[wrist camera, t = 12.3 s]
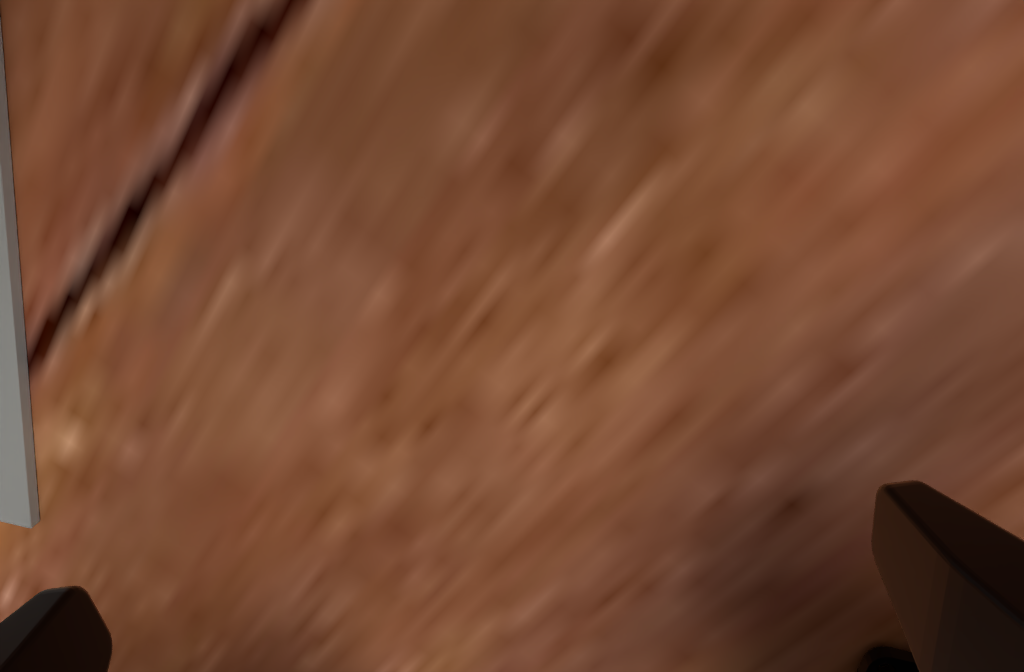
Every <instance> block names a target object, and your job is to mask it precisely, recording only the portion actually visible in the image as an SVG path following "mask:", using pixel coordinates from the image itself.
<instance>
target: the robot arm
mask: <svg viewBox="0 0 1024 672" xmlns="http://www.w3.org/2000/svg"><path fill="white" fill-rule="evenodd" d="M871 542H872V551H873V555H874V559H875V562H876V565H877V567H878V570H879V572H880V575H881V577H882V580H883V582H884V585H885V587H886V590H887V592H888V595H889V597H890V600H891V602H892V605H893V607H894V610H895V612H896V615H897V617H898V620H899V622H900V625H901V627H902V630H903V632H904V635H905V637H906V640H907V642H908V645H909V647H910V650H911V652H908V651H904V650H899V649H895V648H891V647H883V646H881V647H876V648H873V649H871V650H869V651H868V652H867V653H866V655H865V656H864V658H863V660H862V662H861V664H860V666H859V668H858V670H857V672H1024V541H1023V540H1022V539H1020V538H1018V537H1017V536H1015V535H1013V534H1011V533H1010V532H1008V531H1006V530H1004V529H1003V528H1001V527H999V526H998V525H996V524H994V523H992V522H991V521H989V520H987V519H985V518H984V517H982V516H980V515H979V514H977V513H975V512H973V511H972V510H970V509H968V508H966V507H965V506H963V505H961V504H960V503H958V502H956V501H954V500H953V499H951V498H949V497H947V496H946V495H944V494H942V493H941V492H939V491H937V490H935V489H934V488H932V487H930V486H929V485H927V484H925V483H923V482H920V481H914V480H912V481H903V482H895V483H887V484H884V485H882V486H881V487H879V489H878V491H877V494H876V501H875V511H874V520H873V529H872V541H871ZM111 655H112V638H111V634H110V631H109V629H108V628H107V626H106V624H105V622H104V620H103V619H102V617H101V615H100V613H99V611H98V610H97V608H96V606H95V604H94V603H93V601H92V599H91V597H90V595H89V594H88V592H87V591H86V590H85V589H83V588H82V587H80V586H68V587H60V588H52V589H47V590H44V591H42V592H40V593H38V594H37V595H35V596H34V597H33V598H32V599H30V600H29V601H28V602H26V603H25V604H24V605H23V606H21V607H20V608H19V609H18V610H16V611H15V612H14V613H12V614H11V615H10V616H9V617H7V618H6V619H5V620H3V621H2V622H1V623H0V672H108V668H109V664H110V660H111ZM882 664H888V665H886V666H884V667H882V666H880V665H882Z"/></svg>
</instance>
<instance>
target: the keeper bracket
mask: <svg viewBox="0 0 1024 672" xmlns="http://www.w3.org/2000/svg"><path fill="white" fill-rule="evenodd" d="M0 521H1V522H6V523H10V524H14V525H18V526H23V527H27V528H32V527H33V526H35V525H36V524H37V523H38V522H39V521H40V517H39V504H38V491H37V478H36V466H35V453H34V440H33V427H32V415H31V402H30V389H29V376H28V363H27V351H26V338H25V325H24V312H23V300H22V287H21V274H20V261H19V249H18V236H17V223H16V210H15V197H14V185H13V172H12V159H11V146H10V134H9V121H8V108H7V95H6V82H5V70H4V57H3V44H2V31H1V19H0Z"/></svg>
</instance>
